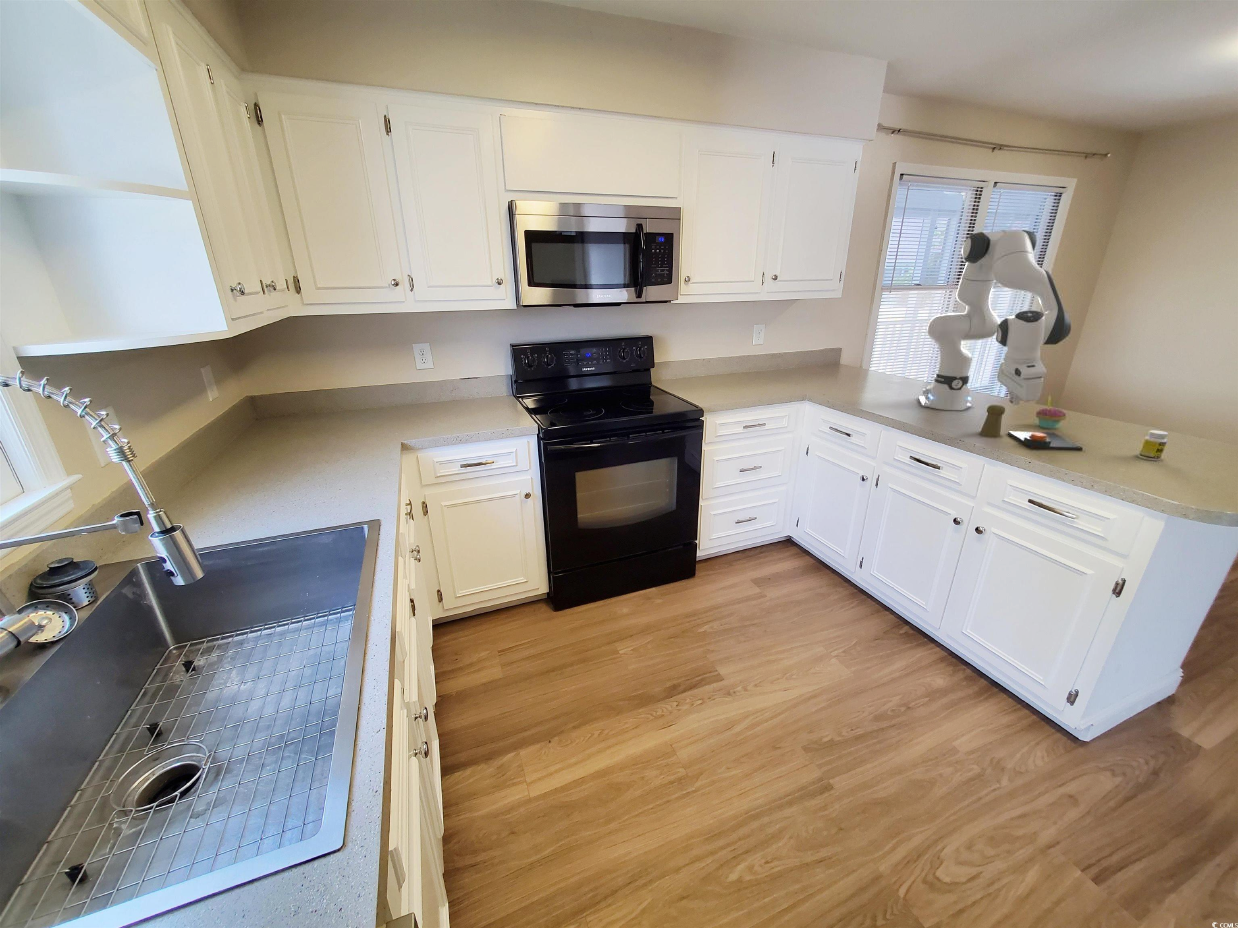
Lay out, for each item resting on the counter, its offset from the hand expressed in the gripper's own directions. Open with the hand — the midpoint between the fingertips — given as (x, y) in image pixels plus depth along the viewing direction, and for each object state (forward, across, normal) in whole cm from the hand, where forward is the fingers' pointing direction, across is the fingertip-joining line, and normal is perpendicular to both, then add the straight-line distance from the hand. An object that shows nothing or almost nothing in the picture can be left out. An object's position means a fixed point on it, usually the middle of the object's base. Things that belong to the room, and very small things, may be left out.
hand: (1013, 403), depth 164 cm
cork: (+15, -6, -3) cm, 17 cm away
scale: (+16, +1, +10) cm, 19 cm away
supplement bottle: (+17, +14, +32) cm, 39 cm away
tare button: (+12, +5, +6) cm, 14 cm away
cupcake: (+20, -18, +21) cm, 34 cm away
